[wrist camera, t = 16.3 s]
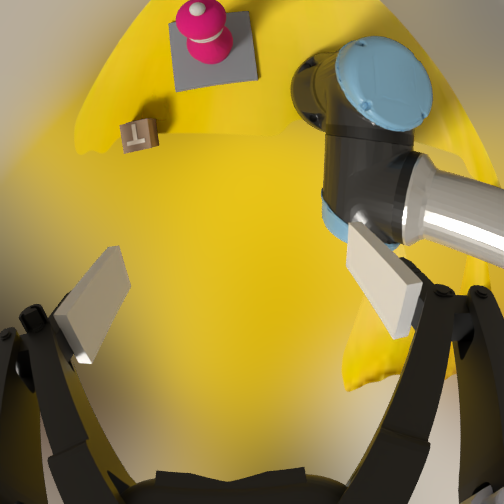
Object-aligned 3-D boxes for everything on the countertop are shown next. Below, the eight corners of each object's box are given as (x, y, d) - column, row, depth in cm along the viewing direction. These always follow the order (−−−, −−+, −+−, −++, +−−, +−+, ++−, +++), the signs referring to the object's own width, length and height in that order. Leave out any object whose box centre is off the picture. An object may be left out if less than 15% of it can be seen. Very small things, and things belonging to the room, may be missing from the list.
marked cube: (155, 117, 44) (146, 117, 40) (159, 145, 47) (151, 147, 42) (130, 123, 44) (119, 124, 40) (134, 150, 47) (123, 153, 42)
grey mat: (248, 12, 36) (248, 10, 36) (257, 80, 42) (257, 79, 42) (169, 24, 37) (168, 23, 36) (176, 92, 43) (175, 91, 42)
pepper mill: (195, 29, 37) (172, -19, 19) (237, 33, 38) (237, -16, 20) (187, 65, 40) (156, 32, 22) (228, 69, 41) (223, 36, 23)
